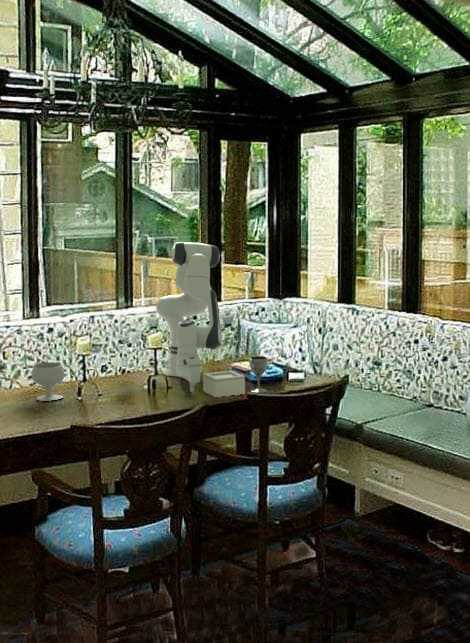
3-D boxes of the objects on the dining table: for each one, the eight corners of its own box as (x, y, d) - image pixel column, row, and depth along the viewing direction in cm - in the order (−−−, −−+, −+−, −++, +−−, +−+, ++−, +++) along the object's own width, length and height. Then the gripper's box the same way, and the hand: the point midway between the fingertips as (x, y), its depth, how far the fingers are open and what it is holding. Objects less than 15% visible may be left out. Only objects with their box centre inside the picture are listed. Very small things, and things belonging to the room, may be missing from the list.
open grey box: (203, 391, 395) (203, 373, 394) (232, 387, 401) (232, 370, 400) (215, 397, 383) (215, 379, 382) (245, 394, 388) (244, 376, 387)
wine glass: (262, 388, 399) (262, 355, 397) (271, 391, 392) (270, 358, 390) (246, 390, 396) (246, 357, 394) (255, 393, 389) (254, 360, 387)
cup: (198, 393, 391) (197, 375, 389) (195, 397, 383) (195, 379, 382) (181, 393, 391) (180, 375, 390) (178, 397, 384) (178, 379, 383)
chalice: (30, 397, 389) (28, 363, 387) (62, 394, 395) (60, 360, 392) (35, 404, 377) (34, 369, 374) (68, 400, 382) (67, 366, 380)
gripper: (172, 355, 393) (173, 385, 395) (188, 363, 375) (189, 395, 377) (185, 353, 396) (186, 384, 398) (202, 361, 377) (203, 393, 379)
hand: (188, 389), depth 387 cm, fingers closed on cup, 7 cm apart
